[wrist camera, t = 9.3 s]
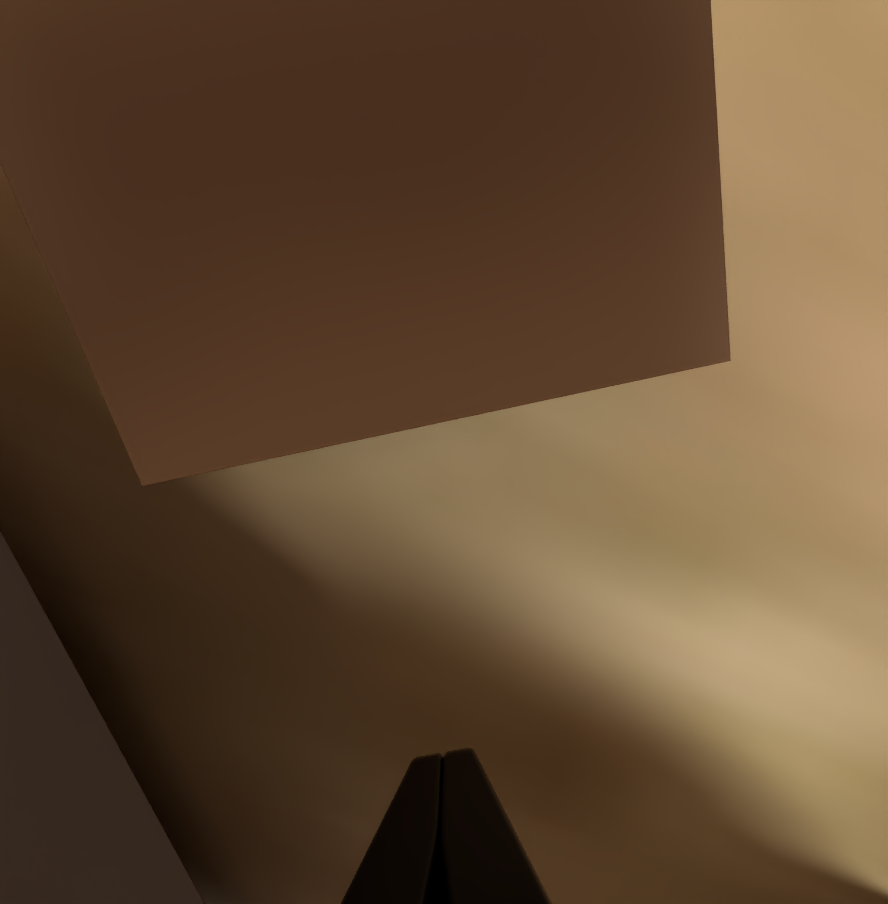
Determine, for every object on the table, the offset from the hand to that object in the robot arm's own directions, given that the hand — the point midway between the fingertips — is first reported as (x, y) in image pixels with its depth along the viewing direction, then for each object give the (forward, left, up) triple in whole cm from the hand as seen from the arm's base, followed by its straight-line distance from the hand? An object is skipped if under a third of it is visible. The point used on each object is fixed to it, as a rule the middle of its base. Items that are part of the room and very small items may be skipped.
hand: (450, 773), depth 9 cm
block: (+8, -1, -2) cm, 8 cm away
